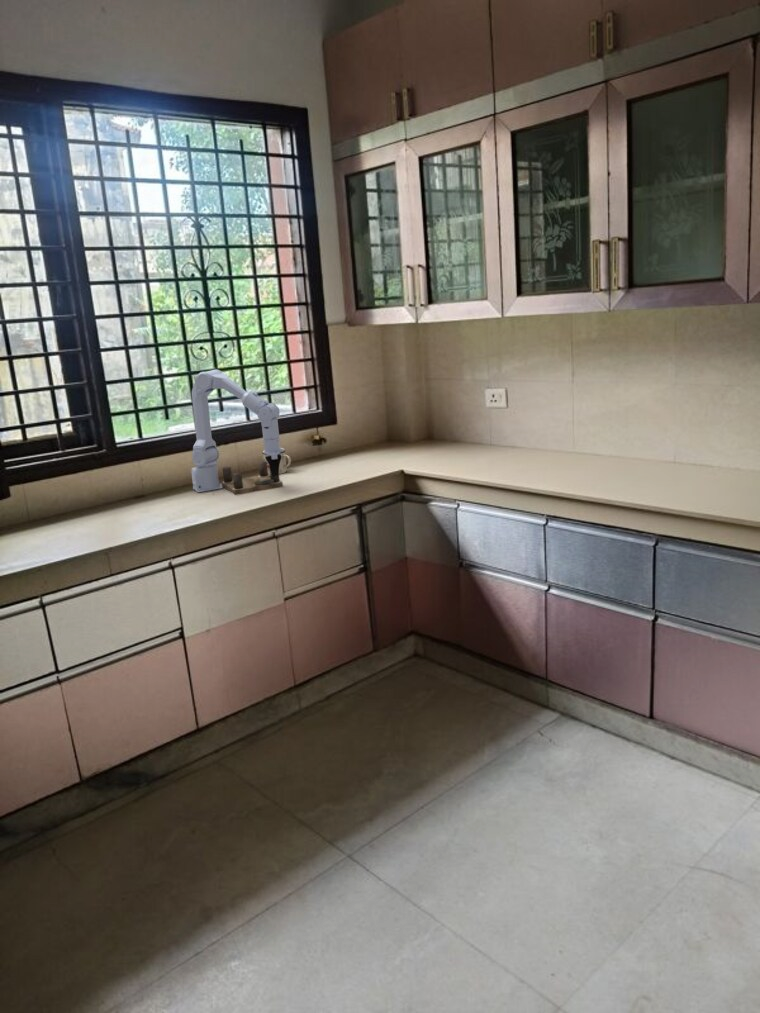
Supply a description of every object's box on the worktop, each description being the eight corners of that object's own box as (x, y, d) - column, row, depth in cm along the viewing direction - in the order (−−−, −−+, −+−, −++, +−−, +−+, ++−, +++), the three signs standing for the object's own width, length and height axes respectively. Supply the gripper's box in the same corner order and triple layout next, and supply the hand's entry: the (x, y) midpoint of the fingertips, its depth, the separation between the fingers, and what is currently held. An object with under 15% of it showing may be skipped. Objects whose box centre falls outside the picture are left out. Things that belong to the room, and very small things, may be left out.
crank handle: (256, 485, 280) (254, 470, 279) (253, 483, 283) (251, 468, 282) (281, 480, 284) (279, 465, 283) (277, 479, 287) (276, 464, 286)
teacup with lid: (260, 474, 308) (256, 445, 305) (273, 469, 316) (270, 441, 313) (285, 475, 303) (282, 446, 300) (298, 470, 310) (295, 442, 307)
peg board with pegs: (235, 494, 277) (232, 475, 275) (221, 485, 293) (219, 467, 291) (283, 486, 284) (281, 467, 282) (268, 478, 300) (266, 460, 299)
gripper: (284, 440, 269) (288, 478, 273) (280, 434, 283) (284, 470, 287) (264, 442, 268) (268, 480, 272) (261, 436, 282) (265, 472, 285)
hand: (275, 475), depth 279 cm, fingers closed
